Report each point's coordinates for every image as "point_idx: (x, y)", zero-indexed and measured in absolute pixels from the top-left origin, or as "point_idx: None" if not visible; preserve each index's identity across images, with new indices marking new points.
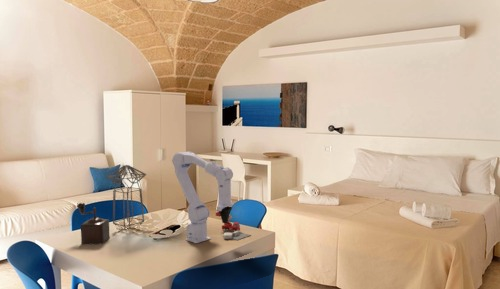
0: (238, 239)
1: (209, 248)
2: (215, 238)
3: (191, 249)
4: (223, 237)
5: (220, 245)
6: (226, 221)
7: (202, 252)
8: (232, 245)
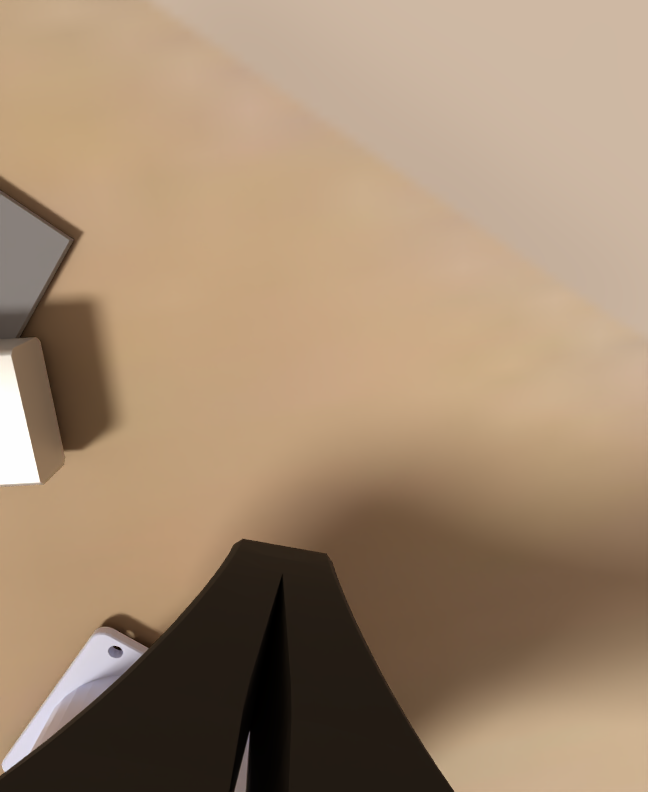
0: (39, 218)
1: (486, 563)
2: (59, 568)
3: (525, 741)
4: (57, 469)
5: (353, 449)
6: (340, 595)
7: (638, 611)
8: (336, 273)
